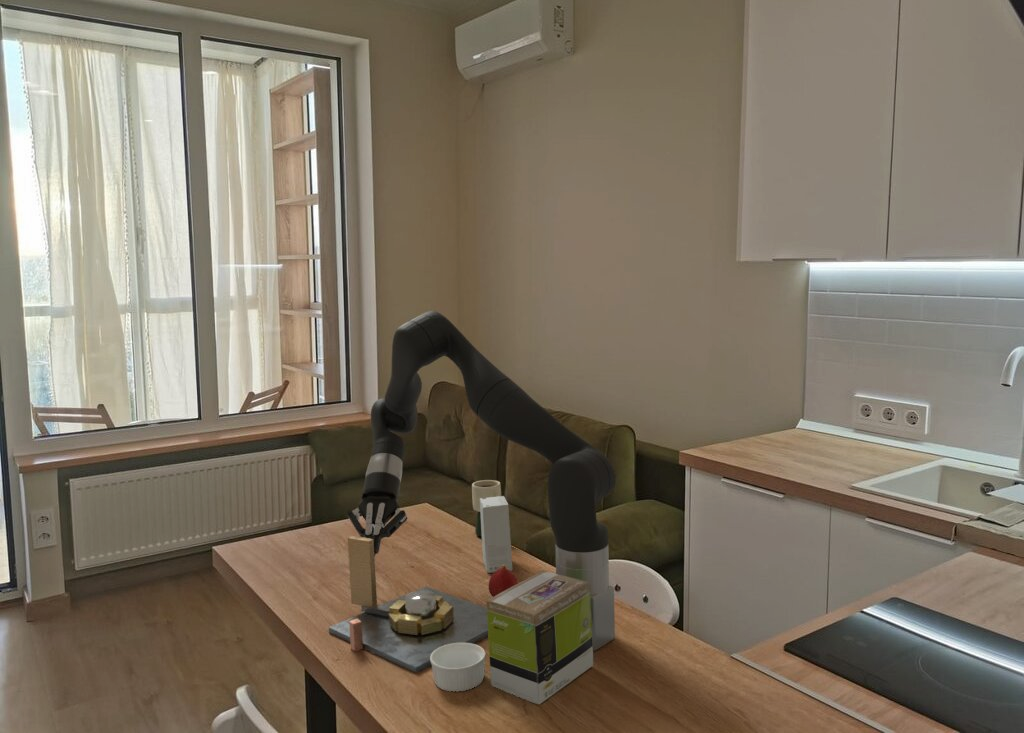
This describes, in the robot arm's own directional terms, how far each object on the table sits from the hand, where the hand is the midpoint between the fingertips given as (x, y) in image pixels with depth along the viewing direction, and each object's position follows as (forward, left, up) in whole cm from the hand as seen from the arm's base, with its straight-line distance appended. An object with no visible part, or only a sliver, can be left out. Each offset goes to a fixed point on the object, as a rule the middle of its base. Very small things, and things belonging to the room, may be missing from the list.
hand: (370, 554), depth 161 cm
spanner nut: (-13, +3, -8) cm, 15 cm away
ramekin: (-37, +12, -10) cm, 40 cm away
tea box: (-47, +2, -10) cm, 48 cm away
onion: (-23, -15, -10) cm, 28 cm away
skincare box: (-8, -29, -10) cm, 31 cm away
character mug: (+8, -43, -10) cm, 44 cm away
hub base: (-18, +3, -9) cm, 20 cm away
